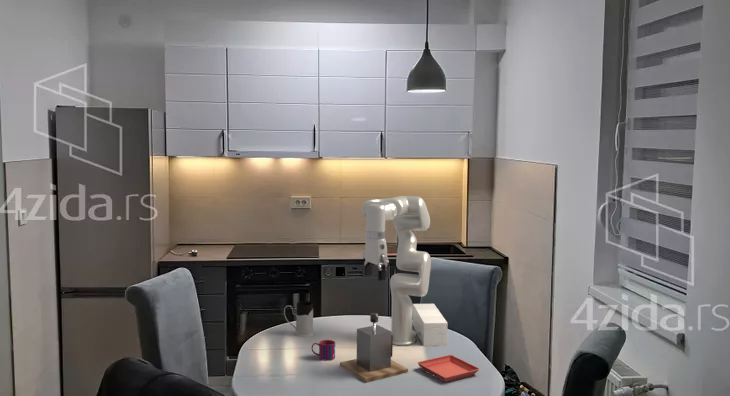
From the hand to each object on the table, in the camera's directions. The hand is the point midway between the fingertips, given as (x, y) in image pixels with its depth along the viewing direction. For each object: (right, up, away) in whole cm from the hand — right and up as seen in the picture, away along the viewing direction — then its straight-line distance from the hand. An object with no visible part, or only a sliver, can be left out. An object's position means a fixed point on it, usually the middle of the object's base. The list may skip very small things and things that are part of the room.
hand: (375, 277), depth 250 cm
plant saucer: (+29, -39, +2) cm, 49 cm away
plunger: (-1, -36, +3) cm, 36 cm away
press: (+1, -36, +4) cm, 36 cm away
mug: (-22, -36, +16) cm, 45 cm away
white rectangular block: (+27, -34, +49) cm, 65 cm away
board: (-1, -38, +4) cm, 38 cm away
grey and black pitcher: (-35, -33, +46) cm, 67 cm away
